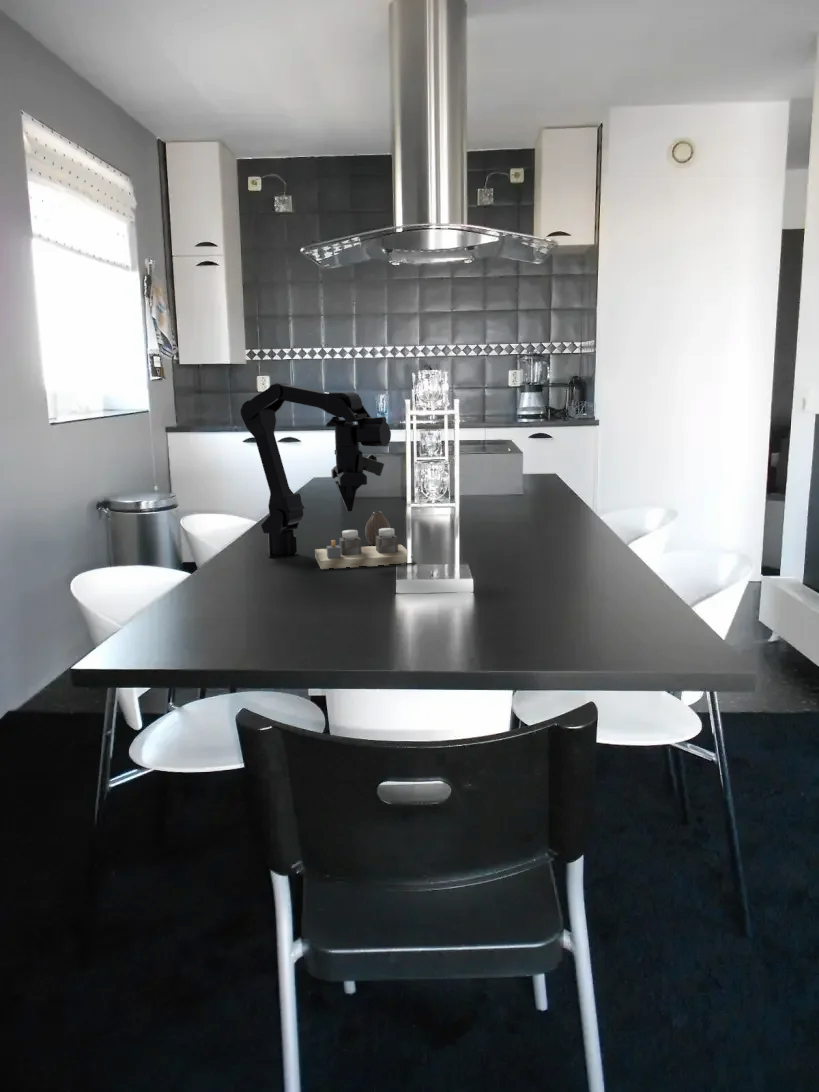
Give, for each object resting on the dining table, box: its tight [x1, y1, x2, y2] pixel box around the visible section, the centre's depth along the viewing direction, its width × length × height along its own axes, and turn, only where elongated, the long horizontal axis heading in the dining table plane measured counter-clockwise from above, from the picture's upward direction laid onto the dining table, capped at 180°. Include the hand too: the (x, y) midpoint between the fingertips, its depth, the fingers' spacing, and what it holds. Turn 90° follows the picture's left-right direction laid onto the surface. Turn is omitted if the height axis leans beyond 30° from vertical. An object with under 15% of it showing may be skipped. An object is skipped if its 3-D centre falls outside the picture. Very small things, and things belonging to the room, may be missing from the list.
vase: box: [364, 511, 391, 546], centre depth 221 cm, size 7×7×9 cm
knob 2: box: [379, 527, 395, 538], centre depth 202 cm, size 4×4×5 cm
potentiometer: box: [326, 539, 341, 559], centre depth 196 cm, size 3×3×4 cm
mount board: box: [314, 534, 414, 570], centre depth 201 cm, size 22×14×6 cm, turn 102°
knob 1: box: [341, 529, 359, 540], centre depth 200 cm, size 4×4×5 cm
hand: (349, 511), depth 199 cm, fingers closed
